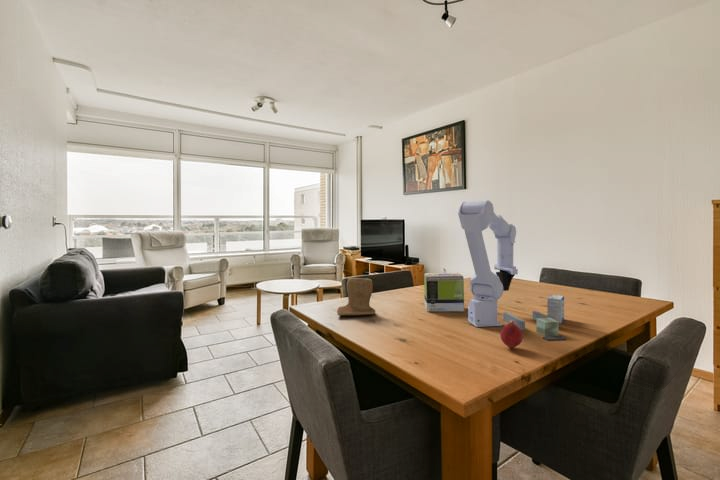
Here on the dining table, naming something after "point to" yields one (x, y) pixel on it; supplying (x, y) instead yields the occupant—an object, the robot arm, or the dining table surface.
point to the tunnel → (520, 322)
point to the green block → (547, 327)
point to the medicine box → (556, 307)
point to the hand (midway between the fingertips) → (505, 290)
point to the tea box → (444, 291)
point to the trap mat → (554, 338)
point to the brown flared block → (357, 298)
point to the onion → (511, 335)
